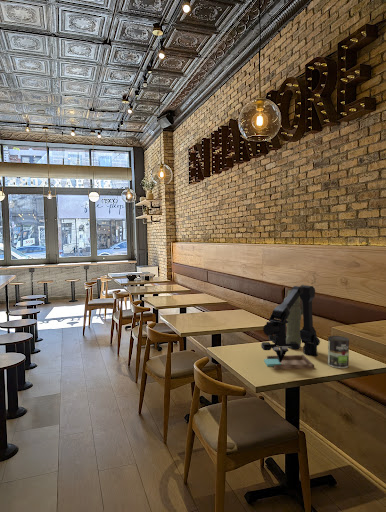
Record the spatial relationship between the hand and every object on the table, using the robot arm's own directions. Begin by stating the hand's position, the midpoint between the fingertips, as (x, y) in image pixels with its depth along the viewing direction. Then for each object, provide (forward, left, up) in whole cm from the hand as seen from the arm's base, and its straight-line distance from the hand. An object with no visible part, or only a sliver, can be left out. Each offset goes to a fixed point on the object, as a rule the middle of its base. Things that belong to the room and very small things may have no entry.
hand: (280, 362), depth 196 cm
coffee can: (-30, +2, -2) cm, 30 cm away
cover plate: (+4, -1, -1) cm, 4 cm away
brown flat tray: (-5, 0, -2) cm, 5 cm away
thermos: (-17, -31, -2) cm, 36 cm away
